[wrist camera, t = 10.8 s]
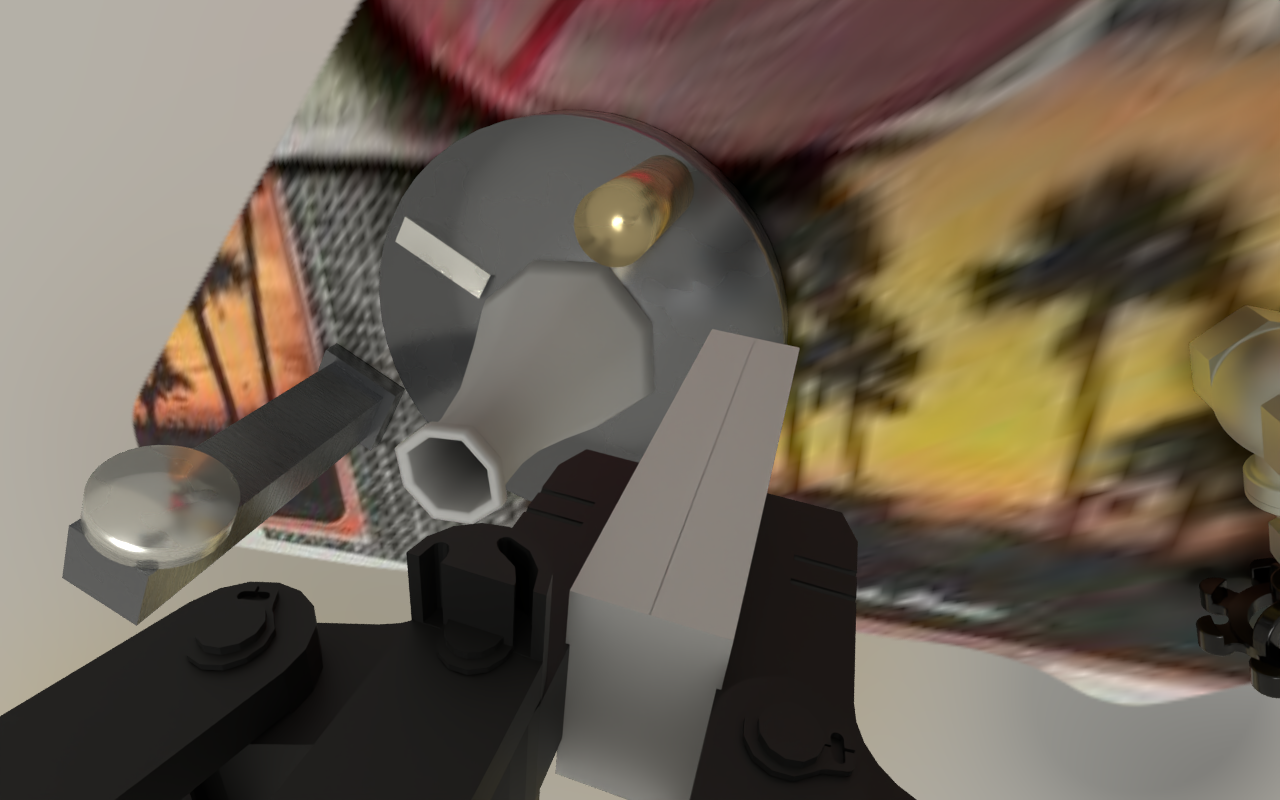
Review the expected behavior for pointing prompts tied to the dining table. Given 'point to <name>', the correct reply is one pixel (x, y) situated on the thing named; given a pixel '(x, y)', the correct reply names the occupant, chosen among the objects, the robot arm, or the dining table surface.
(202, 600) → the robot arm
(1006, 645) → the dining table surface
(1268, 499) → the valve
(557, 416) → the flask
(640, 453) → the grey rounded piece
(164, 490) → the post
